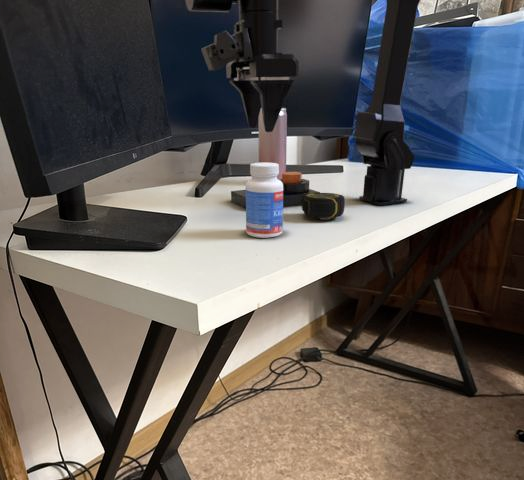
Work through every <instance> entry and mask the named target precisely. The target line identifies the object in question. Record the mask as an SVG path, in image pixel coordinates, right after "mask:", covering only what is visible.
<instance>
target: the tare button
mask: <svg viewBox="0 0 524 480" xmlns="http://www.w3.org/2000/svg"><path fill="white" fill-rule="evenodd" d="M301 179H303V178H302V172H300V171H286V172H284V173H282V182H283V183H300V182H301Z"/></svg>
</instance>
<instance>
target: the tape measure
mask: <svg viewBox="0 0 524 480" xmlns="http://www.w3.org/2000/svg"><path fill="white" fill-rule="evenodd" d="M345 199H346V198H345V196H344V195H343V194H339V193H333V192H320V193H305V194H303V195H302V199H301V205H300V206H301V211H302V212H303V214H304V215H305V216H307V217H310V218H316V219H319V220H320V221H331V220H332V219H333V218H338V217H341V216H343V214H344V211H345V203H346V202H345Z"/></svg>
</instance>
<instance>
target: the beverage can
mask: <svg viewBox="0 0 524 480" xmlns="http://www.w3.org/2000/svg"><path fill="white" fill-rule="evenodd" d="M257 123H258V163H277V164H279V173H278V175H277V179H282V173H284V172H287V143H288V142H287V140H288V139H287V136H288V134H287V133H288V132H287V130H288V114H287V108H286V107H282V109H281V112H280V114H279V117H278V119H277V122H276V124H275V127H274V129H273V131H272V132H266V131H265V127H264V122H263V115H262V107H261V110H260V114H259V118H258V121H257Z"/></svg>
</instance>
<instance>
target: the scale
mask: <svg viewBox="0 0 524 480" xmlns="http://www.w3.org/2000/svg"><path fill="white" fill-rule="evenodd" d="M278 180H280V181H281V182H282V179H278ZM282 183H283V182H282ZM305 193H321V192H320V191H318V190H314V189H311V188H310V180H309V179H305V178H302V179H301V182H300V183H283V208H286V207H287V208H288V207H295V206H301V199H302V195H303V194H305ZM230 201H231V203H234V204H236V205H238V206H240V207H242V208H245V209H246V189H239V190H230Z"/></svg>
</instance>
